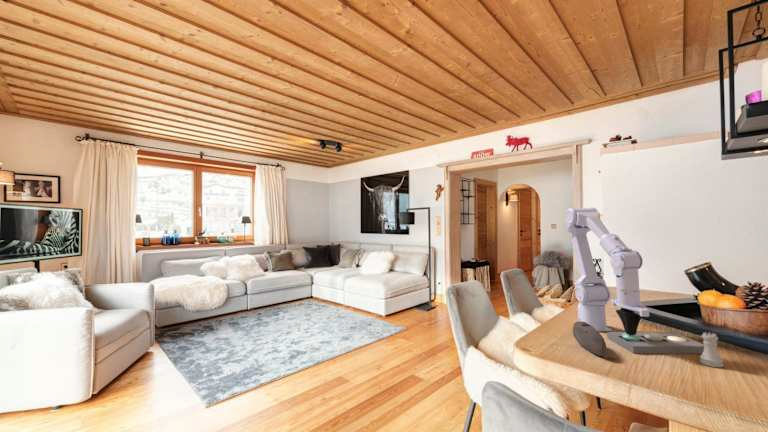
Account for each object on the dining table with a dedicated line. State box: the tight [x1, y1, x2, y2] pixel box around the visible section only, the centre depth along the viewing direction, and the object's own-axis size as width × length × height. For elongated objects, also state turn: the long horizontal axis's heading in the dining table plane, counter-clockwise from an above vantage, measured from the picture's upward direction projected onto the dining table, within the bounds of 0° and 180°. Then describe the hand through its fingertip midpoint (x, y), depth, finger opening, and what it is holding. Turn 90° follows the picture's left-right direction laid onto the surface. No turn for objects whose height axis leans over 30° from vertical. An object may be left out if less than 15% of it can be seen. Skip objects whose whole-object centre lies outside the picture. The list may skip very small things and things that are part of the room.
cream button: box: [667, 336, 687, 342], centre depth 98 cm, size 4×4×1 cm
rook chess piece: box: [699, 331, 725, 368], centre depth 85 cm, size 4×4×8 cm
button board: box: [606, 331, 704, 354], centre depth 99 cm, size 13×20×2 cm, turn 84°
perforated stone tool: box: [572, 320, 607, 357], centre depth 97 cm, size 15×5×7 cm, turn 170°
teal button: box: [622, 333, 640, 342], centre depth 100 cm, size 4×4×1 cm
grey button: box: [644, 333, 663, 342], centre depth 99 cm, size 4×4×1 cm
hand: (630, 334), depth 100 cm, fingers closed
